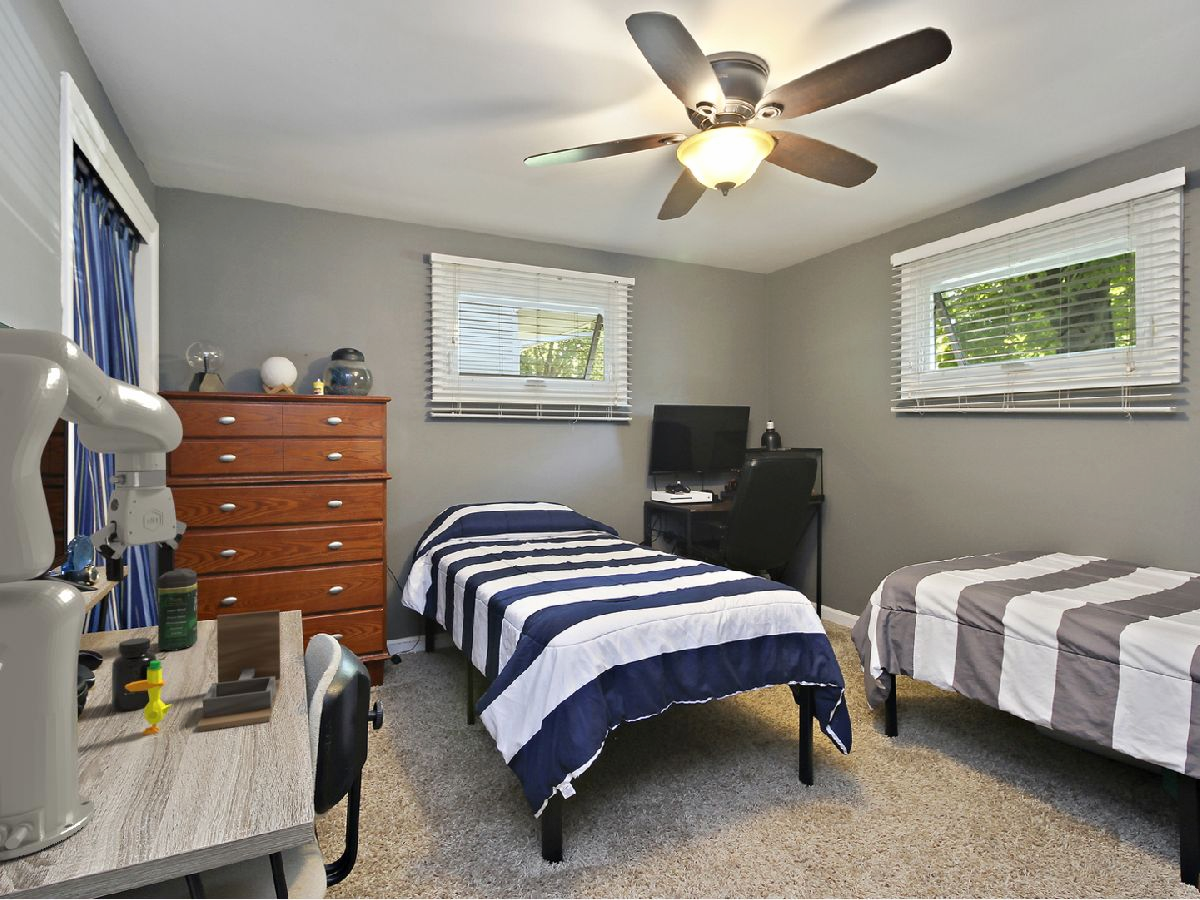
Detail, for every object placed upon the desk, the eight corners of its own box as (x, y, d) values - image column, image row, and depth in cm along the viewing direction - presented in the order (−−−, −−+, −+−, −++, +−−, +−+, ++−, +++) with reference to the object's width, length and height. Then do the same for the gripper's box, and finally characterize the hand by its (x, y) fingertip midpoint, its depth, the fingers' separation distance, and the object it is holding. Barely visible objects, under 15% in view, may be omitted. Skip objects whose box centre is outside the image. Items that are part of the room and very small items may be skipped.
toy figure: (122, 740, 107) (122, 667, 107) (129, 731, 110) (128, 661, 110) (170, 733, 109) (169, 662, 109) (175, 724, 113) (174, 656, 113)
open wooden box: (269, 721, 114) (268, 636, 114) (197, 731, 110) (196, 644, 110) (280, 682, 132) (279, 609, 132) (218, 690, 128) (218, 615, 128)
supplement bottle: (133, 713, 117) (132, 647, 117) (102, 710, 119) (101, 645, 119) (165, 699, 124) (165, 636, 124) (136, 696, 126) (135, 634, 125)
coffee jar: (194, 649, 155) (193, 571, 155) (155, 653, 151) (154, 574, 151) (200, 638, 164) (199, 565, 163) (163, 642, 160) (162, 567, 160)
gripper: (108, 483, 107) (109, 586, 107) (199, 478, 124) (200, 567, 124) (74, 483, 109) (76, 584, 109) (168, 478, 126) (169, 566, 126)
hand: (141, 575), depth 117 cm, fingers open, 9 cm apart
